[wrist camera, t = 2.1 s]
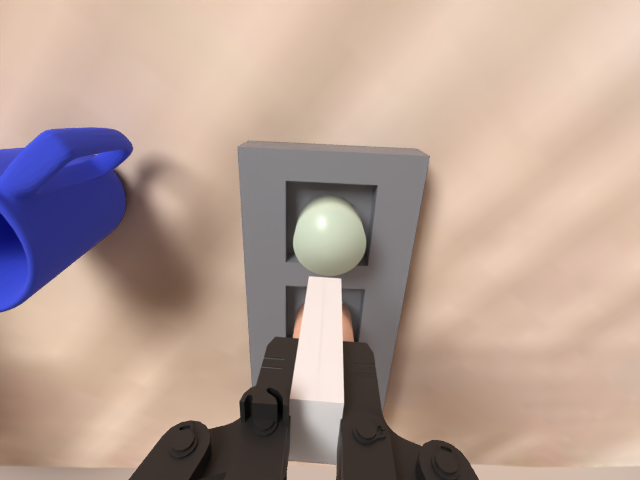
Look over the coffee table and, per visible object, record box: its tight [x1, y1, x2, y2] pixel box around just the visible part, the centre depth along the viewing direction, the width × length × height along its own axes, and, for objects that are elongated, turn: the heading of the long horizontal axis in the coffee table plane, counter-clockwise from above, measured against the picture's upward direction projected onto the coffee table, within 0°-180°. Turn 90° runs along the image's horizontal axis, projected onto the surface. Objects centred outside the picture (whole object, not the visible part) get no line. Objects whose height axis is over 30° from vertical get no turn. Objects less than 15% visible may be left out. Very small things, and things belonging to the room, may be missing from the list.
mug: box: [0, 127, 133, 312], centre depth 19 cm, size 8×12×10 cm
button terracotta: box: [293, 302, 354, 342], centre depth 24 cm, size 4×4×3 cm
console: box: [238, 141, 430, 414], centre depth 26 cm, size 12×26×3 cm, turn 177°
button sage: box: [293, 195, 366, 276], centre depth 20 cm, size 4×4×3 cm
